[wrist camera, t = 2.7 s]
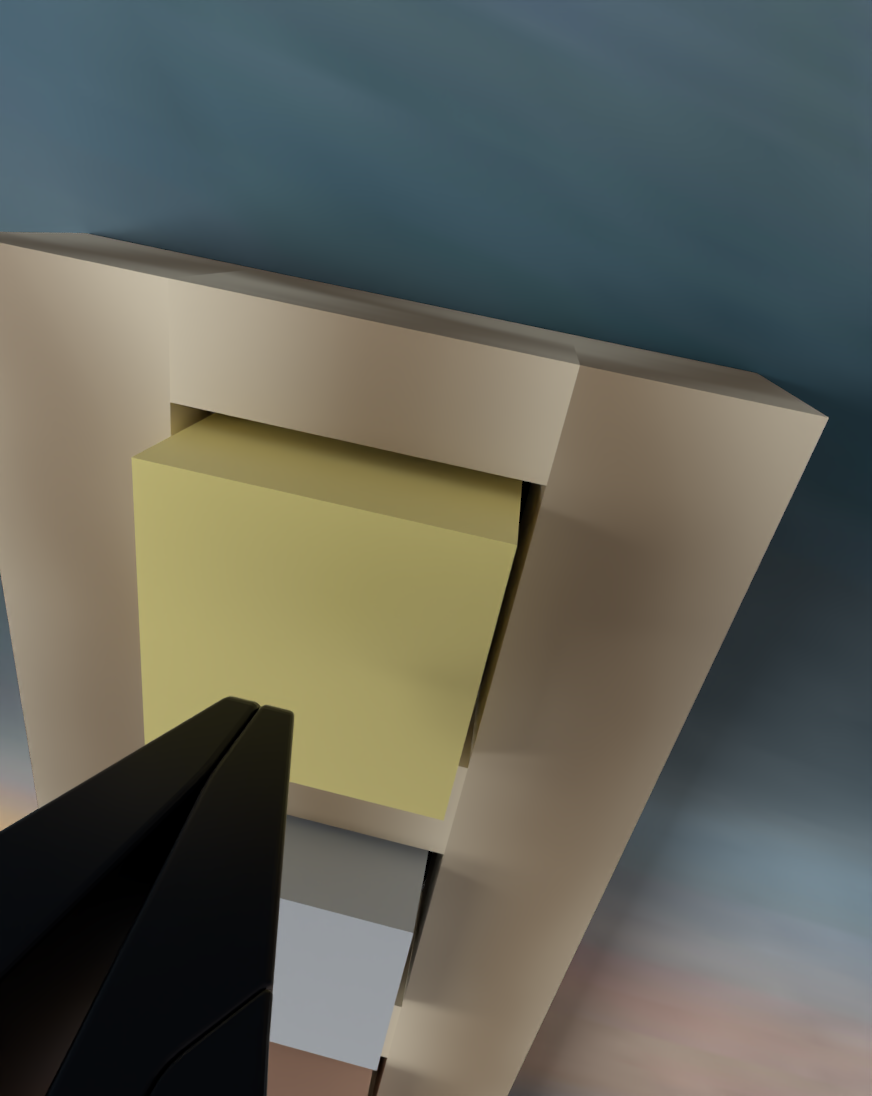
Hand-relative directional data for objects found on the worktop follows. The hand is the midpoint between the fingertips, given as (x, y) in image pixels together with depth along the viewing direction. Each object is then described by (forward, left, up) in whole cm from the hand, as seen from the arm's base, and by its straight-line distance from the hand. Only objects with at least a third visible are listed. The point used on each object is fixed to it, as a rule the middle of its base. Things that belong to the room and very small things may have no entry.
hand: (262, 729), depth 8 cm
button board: (0, -8, -6) cm, 10 cm away
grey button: (0, -8, -4) cm, 9 cm away
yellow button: (0, 0, -4) cm, 4 cm away
